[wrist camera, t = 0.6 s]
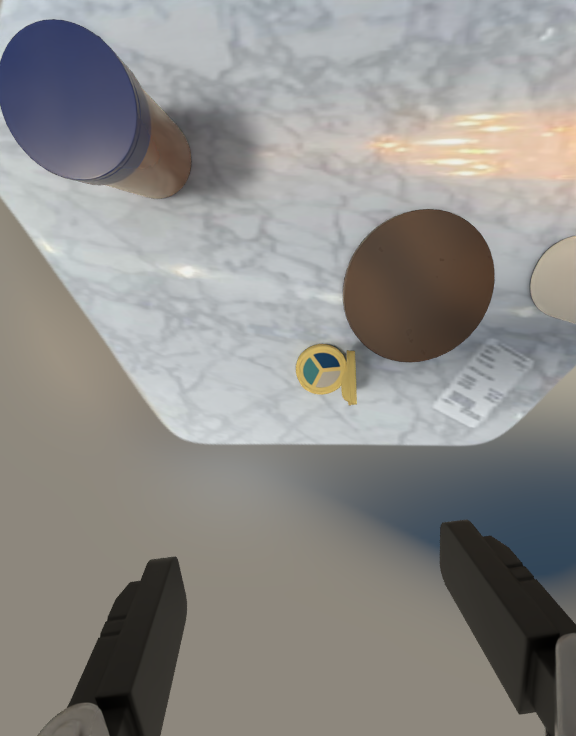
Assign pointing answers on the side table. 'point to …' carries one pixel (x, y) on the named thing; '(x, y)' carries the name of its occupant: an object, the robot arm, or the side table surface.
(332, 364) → the eyeshadow
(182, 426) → the side table surface
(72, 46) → the jar lid
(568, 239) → the can
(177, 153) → the jar
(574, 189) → the side table surface
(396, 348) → the coaster
